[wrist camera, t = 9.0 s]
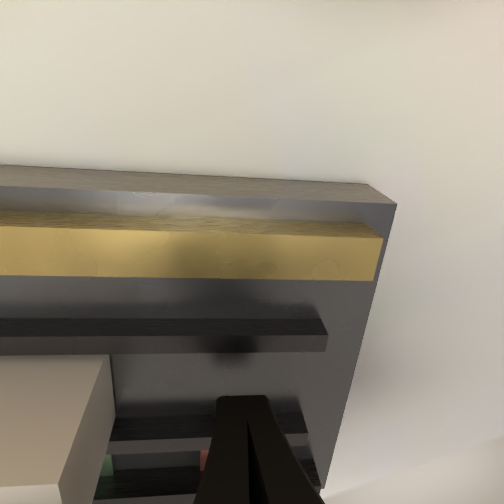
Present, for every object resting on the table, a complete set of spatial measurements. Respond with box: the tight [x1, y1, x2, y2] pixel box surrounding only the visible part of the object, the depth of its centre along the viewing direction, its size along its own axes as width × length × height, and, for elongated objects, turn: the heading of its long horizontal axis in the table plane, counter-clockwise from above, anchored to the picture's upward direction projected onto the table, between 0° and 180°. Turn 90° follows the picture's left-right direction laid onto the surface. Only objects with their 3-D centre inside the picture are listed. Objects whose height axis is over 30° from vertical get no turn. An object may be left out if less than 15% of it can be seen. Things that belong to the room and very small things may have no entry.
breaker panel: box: [0, 165, 397, 504], centre depth 12 cm, size 13×12×3 cm
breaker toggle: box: [0, 354, 116, 504], centre depth 9 cm, size 4×3×4 cm
